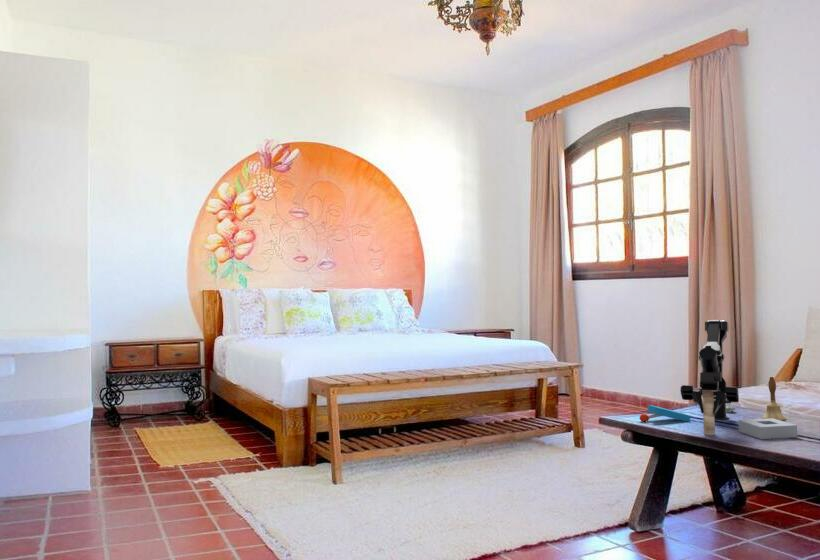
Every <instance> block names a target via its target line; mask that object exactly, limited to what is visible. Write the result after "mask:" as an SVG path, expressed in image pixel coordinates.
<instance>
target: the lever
mask: <svg viewBox="0 0 820 560" xmlns="http://www.w3.org/2000/svg"><path fill="white" fill-rule="evenodd" d="M647 406H648V407H647V412H650V413H652V414H650V415H648V414H646V413H641V414H640V415H639V420H641V421H647V422H649V419H654V418H659V417H663V416H664V417H667V418H671V419H675V420H678V421H683V422H687V421H688V422H690V421H691V418H692V416H691V415H690V414H686V413H684V412H681V411H676V410H671V409H667V408H664V407H660V406H656V405H653V404H648V405H647ZM641 421H640V422H641Z"/></svg>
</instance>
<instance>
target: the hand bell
mask: <svg viewBox="0 0 820 560" xmlns="http://www.w3.org/2000/svg"><path fill="white" fill-rule="evenodd" d="M767 385H768V390H769V393H770V403H767V404H766V409H765V413H764V415H762V416H761V419H763V418H765V419H769V418H774V419H777V420H781V421H786V420H787V418H786V416H785V415H784V413H783V412H782V409H781V405H780V404H779V403H777V402H776V392H777V391H776V389H777V383H776V380H775V378H774V377H773V376H770V377H769V380H768V384H767Z"/></svg>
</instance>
